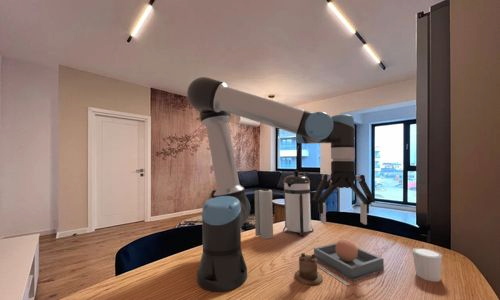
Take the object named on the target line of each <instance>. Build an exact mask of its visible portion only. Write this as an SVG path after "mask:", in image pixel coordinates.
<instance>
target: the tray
mask: <svg viewBox="0 0 500 300" xmlns="http://www.w3.org/2000/svg"><path fill="white" fill-rule="evenodd" d="M336 243H337V242H334V243H330V244H327V245H322V246H318V247H314V248H313V254H314V255H316V259H317V262H319V263H321V264H322V265H324V266H326V267H328V268H330V269H331V270H333V271H334V272H336V273H338V274H339V275H341V276H343V277H345V278H346V279H348V280H350V281H351V282H354V281H356V280H359V279H361V278H365V277H368V276H370V275H371V276H372V275H374V274H376V273H379V272H382V271H384V270H385V262H384V258H383V257H381V256H378V255H376V254H374V253H371V252H369V251H367V250H364V249H362V248H360V247H357V249H358V255H357V257H356V259H355V260H353V261H350V262H347V261H344V260H342V259H340V258H339V257H338V255H337V254H336V251H335V246H336Z"/></svg>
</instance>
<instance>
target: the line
mask: <svg viewBox="0 0 500 300" xmlns="http://www.w3.org/2000/svg"><path fill="white" fill-rule="evenodd" d="M317 268H318V269H320V270H322V271H324V272H325V273H327V274H328V275H329V276H331V277H333V278H335V280H338V281H339V282H341V283H342V284H344V285H345V286H350V285H351V283H349V282H348V281H346V280H345V279H343V278H342V277H340V276H338V275H337V274H335V273H333V272H332V271H330V270H328V269H327V268H325V267H324V266H323V265H321V264H319V263H317Z"/></svg>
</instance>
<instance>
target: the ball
mask: <svg viewBox="0 0 500 300" xmlns="http://www.w3.org/2000/svg"><path fill="white" fill-rule="evenodd" d="M335 243H336V246H335V251H336V254H337V255H338V257H339V258H340V259H342V260H344V261H347V262H350V261H353V260H355V259H356V257H357V255H358V249H357V248H358V246H357V245H356V244H355V242H353V241H352V240H350V239H348V238H341V239H339V240H338V241H336V242H335Z"/></svg>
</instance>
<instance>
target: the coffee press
mask: <svg viewBox="0 0 500 300" xmlns="http://www.w3.org/2000/svg"><path fill="white" fill-rule="evenodd" d="M293 173H294V175H293V174H292V175H287V176H286V177H285V178H284V180H283V184H284V186H283V187H284V188H283V195H284V196H283V197H284V199H283V201H284V228H283V229H282V232H283V233H284V234H286V233H287V232H289V231H290V232H293V233H299V235H300V237H301V238H304V237H305V233H306V232H309V231H310V232H311V233H313V232H314V228H313V227H312V215H311V188H310V185H311V181H310V179H309V177H308V176H307V175H302V174H301V175H300V174H299V173H300V172H299V170H298V169H295V170H293Z"/></svg>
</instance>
